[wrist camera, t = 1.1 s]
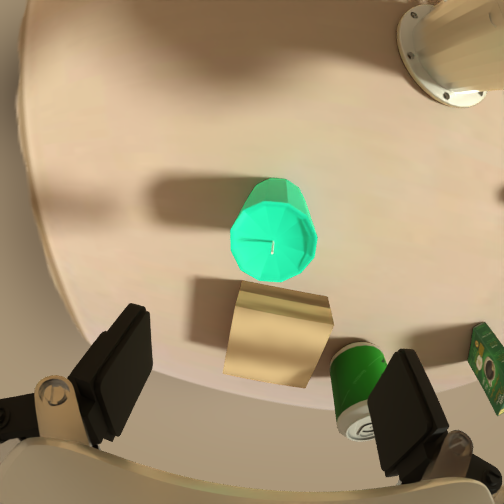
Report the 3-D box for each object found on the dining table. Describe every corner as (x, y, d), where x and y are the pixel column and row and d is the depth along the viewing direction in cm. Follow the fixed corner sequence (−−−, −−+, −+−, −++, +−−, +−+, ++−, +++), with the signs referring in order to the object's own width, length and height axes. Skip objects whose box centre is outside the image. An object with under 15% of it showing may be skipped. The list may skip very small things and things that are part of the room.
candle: (300, 172, 27) (312, 197, 16) (310, 229, 30) (325, 287, 19) (240, 183, 28) (213, 216, 17) (253, 239, 31) (236, 300, 20)
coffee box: (479, 355, 34) (511, 410, 22) (466, 362, 35) (496, 418, 23) (485, 320, 32) (526, 376, 20) (471, 327, 32) (511, 386, 20)
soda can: (323, 375, 37) (330, 446, 26) (335, 335, 35) (349, 410, 24) (371, 376, 37) (388, 442, 26) (388, 337, 34) (415, 406, 23)
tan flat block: (242, 277, 33) (239, 290, 30) (326, 294, 33) (330, 308, 30) (231, 342, 37) (227, 357, 34) (304, 355, 37) (305, 370, 34)
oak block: (239, 290, 30) (235, 305, 28) (330, 308, 30) (334, 325, 27) (226, 356, 34) (222, 373, 32) (304, 371, 34) (305, 388, 31)
